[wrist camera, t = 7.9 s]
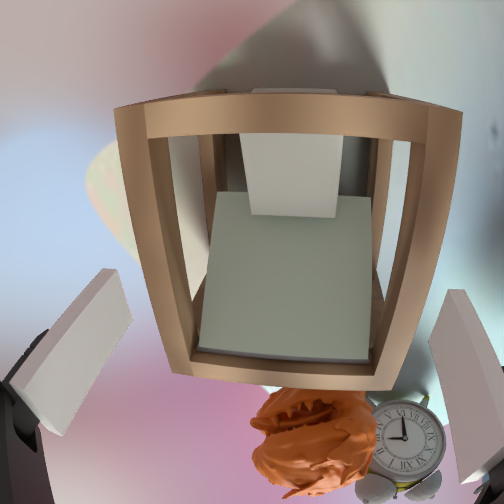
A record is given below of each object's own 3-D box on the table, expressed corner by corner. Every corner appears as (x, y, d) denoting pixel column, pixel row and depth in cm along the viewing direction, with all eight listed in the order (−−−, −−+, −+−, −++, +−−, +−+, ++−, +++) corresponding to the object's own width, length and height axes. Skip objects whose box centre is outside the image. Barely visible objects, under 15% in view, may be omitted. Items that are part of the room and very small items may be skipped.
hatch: (370, 203, 21) (373, 197, 20) (367, 363, 18) (370, 364, 17) (218, 197, 22) (214, 191, 21) (200, 350, 20) (195, 351, 19)
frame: (390, 93, 20) (462, 112, 10) (370, 277, 28) (391, 390, 17) (203, 90, 22) (113, 108, 12) (218, 269, 30) (172, 372, 20)
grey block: (334, 218, 19) (343, 132, 14) (251, 214, 20) (238, 130, 15) (332, 165, 22) (336, 89, 17) (261, 163, 23) (252, 88, 18)
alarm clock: (438, 388, 35) (456, 489, 22) (417, 415, 38) (427, 507, 25) (357, 385, 36) (359, 498, 23) (343, 413, 39) (339, 513, 27)
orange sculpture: (293, 272, 29) (266, 464, 14) (393, 310, 30) (424, 484, 14) (253, 348, 35) (215, 501, 20) (340, 375, 35) (335, 521, 20)
